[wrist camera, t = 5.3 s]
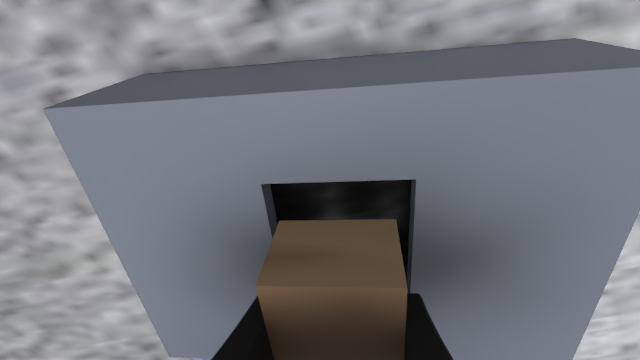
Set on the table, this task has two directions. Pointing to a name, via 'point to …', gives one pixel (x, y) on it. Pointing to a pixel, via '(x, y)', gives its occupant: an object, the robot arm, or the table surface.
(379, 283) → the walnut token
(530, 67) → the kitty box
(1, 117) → the table surface
